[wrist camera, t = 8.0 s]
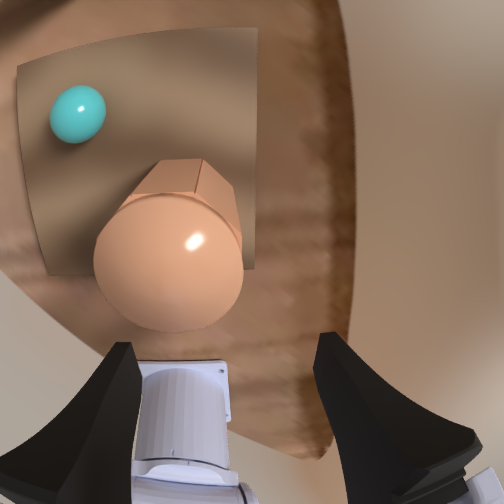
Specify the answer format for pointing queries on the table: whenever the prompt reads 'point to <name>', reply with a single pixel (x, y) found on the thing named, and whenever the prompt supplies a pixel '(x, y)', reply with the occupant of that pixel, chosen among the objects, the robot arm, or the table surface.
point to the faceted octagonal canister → (173, 249)
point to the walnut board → (137, 130)
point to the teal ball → (77, 114)
